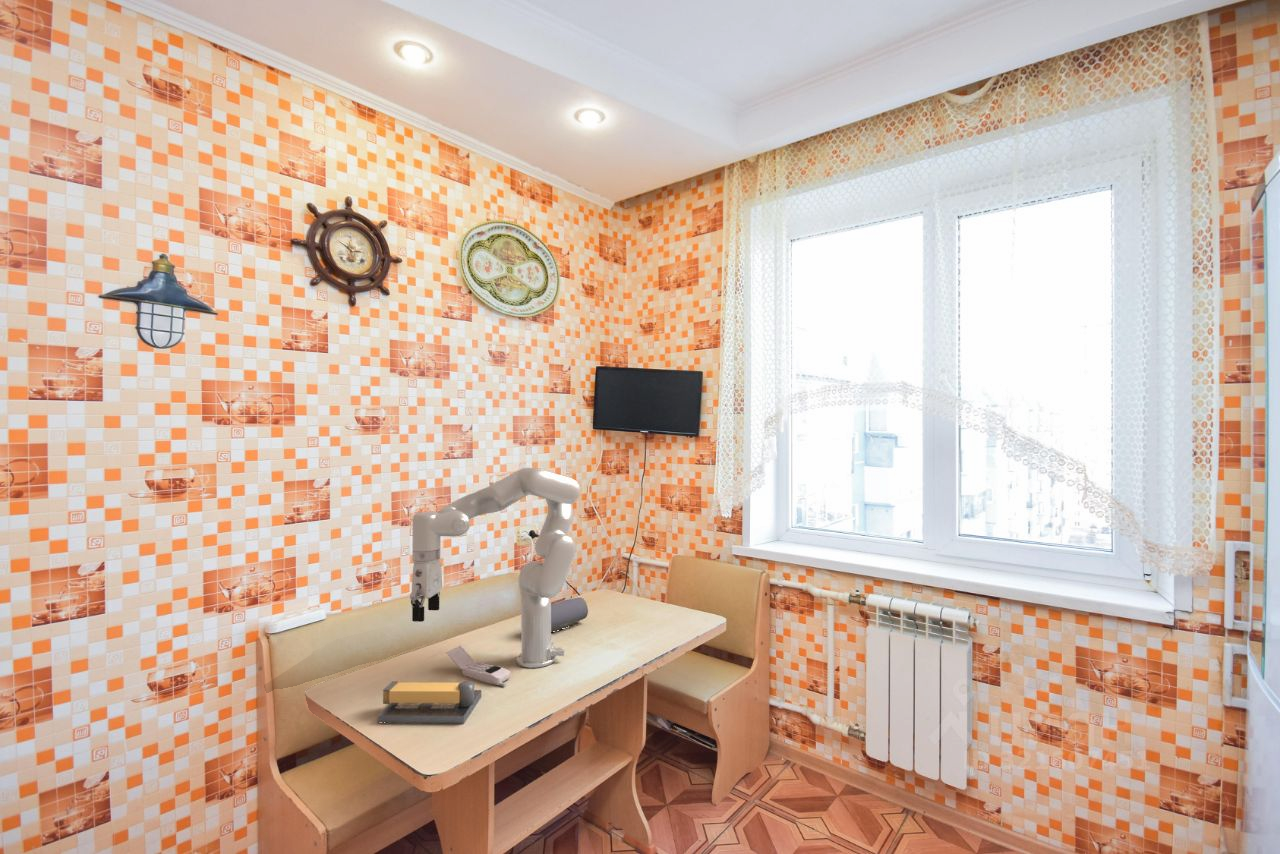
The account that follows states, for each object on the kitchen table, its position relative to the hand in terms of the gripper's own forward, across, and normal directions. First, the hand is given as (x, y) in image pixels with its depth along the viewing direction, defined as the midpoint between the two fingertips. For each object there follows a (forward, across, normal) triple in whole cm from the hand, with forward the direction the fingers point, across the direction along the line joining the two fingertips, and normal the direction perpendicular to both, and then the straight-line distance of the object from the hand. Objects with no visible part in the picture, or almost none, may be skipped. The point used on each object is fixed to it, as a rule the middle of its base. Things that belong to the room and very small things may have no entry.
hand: (426, 615), depth 156 cm
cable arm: (+19, -11, -7) cm, 23 cm away
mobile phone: (+22, +11, -12) cm, 27 cm away
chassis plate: (+22, -10, -6) cm, 25 cm away
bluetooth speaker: (+21, +50, -28) cm, 61 cm away
